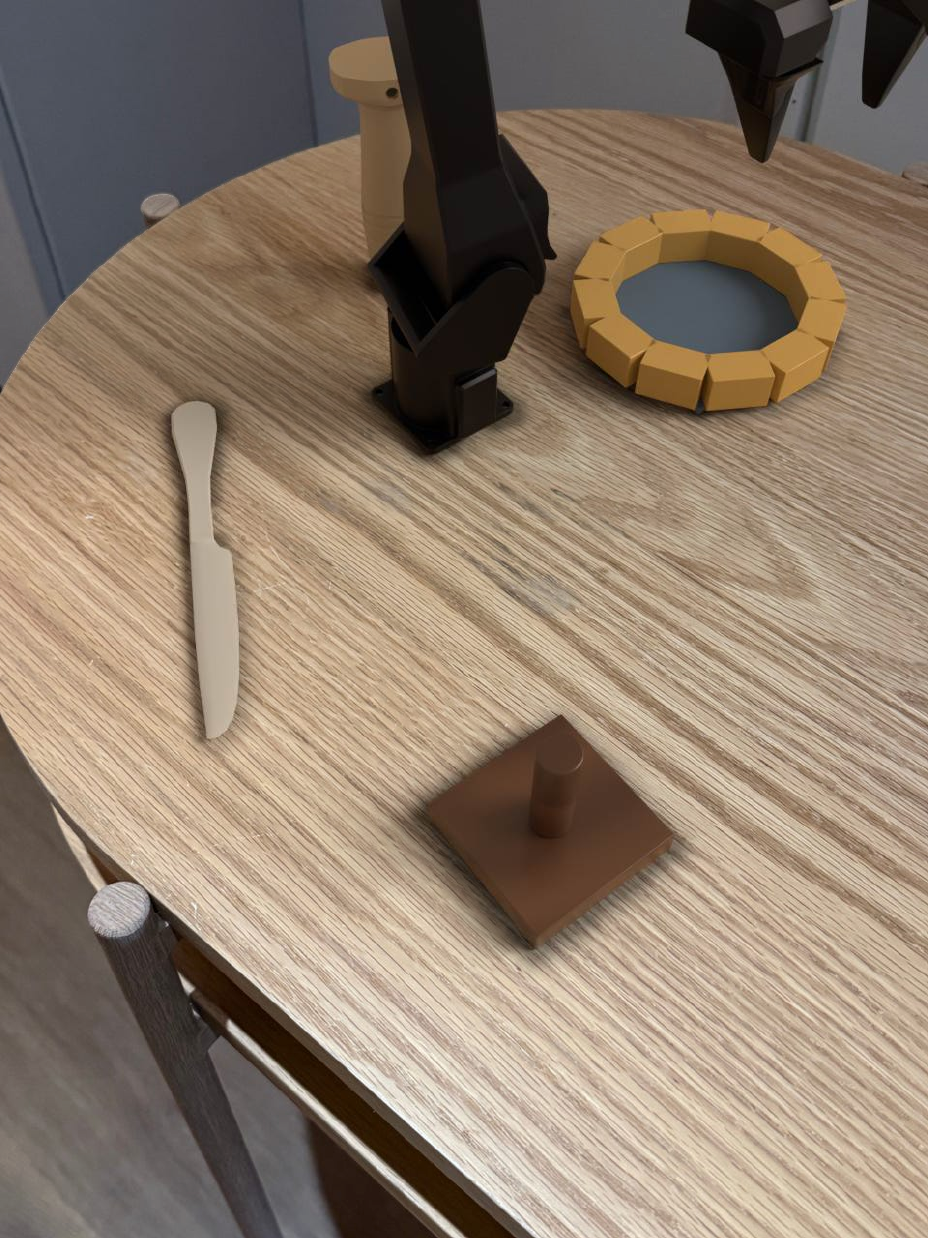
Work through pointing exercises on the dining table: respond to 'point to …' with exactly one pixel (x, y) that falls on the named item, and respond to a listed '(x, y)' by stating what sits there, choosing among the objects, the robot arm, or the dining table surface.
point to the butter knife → (208, 571)
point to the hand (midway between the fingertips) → (815, 131)
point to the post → (549, 829)
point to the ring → (689, 371)
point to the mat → (705, 308)
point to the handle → (376, 132)
